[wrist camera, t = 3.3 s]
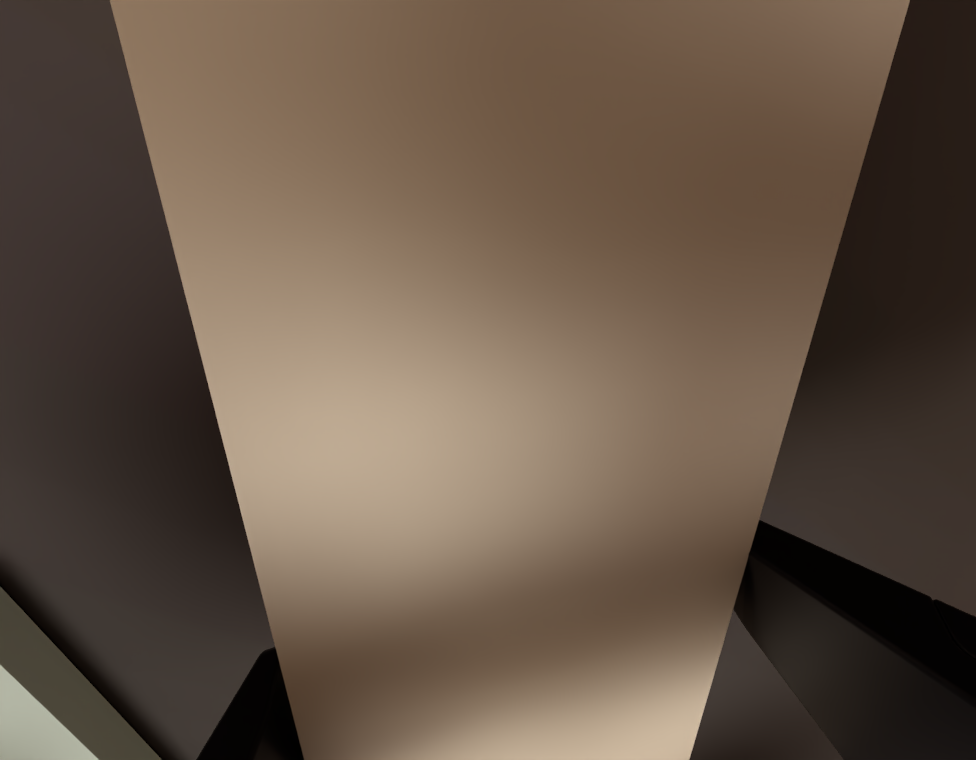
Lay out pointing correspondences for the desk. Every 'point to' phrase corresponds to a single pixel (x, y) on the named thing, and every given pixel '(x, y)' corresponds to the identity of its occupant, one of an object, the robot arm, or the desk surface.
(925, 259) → the desk surface
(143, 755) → the peg plate
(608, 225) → the shelf board
